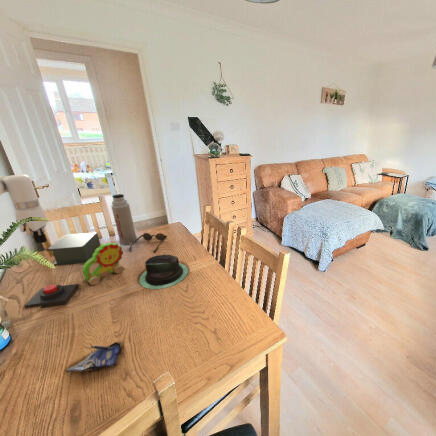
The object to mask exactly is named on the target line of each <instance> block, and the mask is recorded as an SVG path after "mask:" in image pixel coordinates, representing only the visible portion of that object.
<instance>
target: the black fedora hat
mask: <svg viewBox="0 0 436 436" xmlns="http://www.w3.org/2000/svg"><path fill="white" fill-rule="evenodd" d="M144 266H145V271H144V272H143V273H141V275H140V277H139V281H138V282H139V284H140V285H141V286H142V287H143V288H146V289H148V290H149V289H150V290H160V289H166V288H170V287H173V286H175V285H177V284H178V283H180V282H182V281H183V280H184V279H185V278H186V277H187V276H188V273H189V269H188V267H187V266H186V265H185V264H183V263H181V262H179V257H177V256H176V255H172V254H168V253H167V254H165V253H163V254H156V255H153V256H151V257H149V258H148V259H147V260H145V261H144Z"/></svg>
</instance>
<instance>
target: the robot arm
mask: <svg viewBox="0 0 436 436" xmlns="http://www.w3.org/2000/svg"><path fill="white" fill-rule="evenodd" d="M6 193H8V195H9V197H10V200H11V202H12V205H13V208H14V209H15V210H14V212H15V213H14V214H15V218H16V223H18V221H20V220H22V219H26V218H29V217H41V218H46V219H47V216H46V214H45V212H44V209H43V207H42V206H41V203H40V201H39V197H38V195H37V192H36V190H35V187H34V184H33V181H32V179H31V177H30V176H28V175H27V174H12V175H0V196H2V194H6ZM47 224H48V220H47V221H29V222H26V223H24V224H22V225H20V226H18V228H19V230H20V232H21V233H26V236H32V237H33V238H34V241H35V243H36V244H45V242H46V241H47V240H48V238H47V239H46V237H47V235H46V236H45V234H46V233H45V228H46V226H47Z"/></svg>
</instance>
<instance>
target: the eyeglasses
mask: <svg viewBox="0 0 436 436" xmlns="http://www.w3.org/2000/svg"><path fill="white" fill-rule="evenodd" d="M153 237H155V238H156V240H158V241H160V242H159V243H158V244H157V246H156V248H155V250H153V253H156V252H157V251H158V248H159V246H160V245H161V244H162V243H163V242H164V241H165V240H166V239H167V237H168V235H165V234H164V233H162V232H158V233H157V234H150V233H148V232H144V233H143V234H141V235H140V236H139V237H137V238H136V239H137V240H135V241H134V242H133V243H132V244H130V246H129V253H132V252H131V249H132V246H133V245H134V244H135V243H136V242H137V241H138V240H140V239H141V238H143V239H144V240H147V241H151V240H152V239H153Z"/></svg>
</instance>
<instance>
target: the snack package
mask: <svg viewBox="0 0 436 436" xmlns="http://www.w3.org/2000/svg"><path fill="white" fill-rule="evenodd" d="M90 349H95V351H92V352H91V353H90V354H89V355H87V356H86V358H85V359H83V360H82V361H80V362H78V363H77V364H75V365H73V366H71V367H69V368H67V370H66V373H72V372H75V373H80V372H82V373H83V372H88V371H95V370H98V369H101V368H106V367H113V368H115V366H116V364H117V361H118V357H119V353H120V351H121V349H122V348H121V343H119V342H114V343H111V344H110V345H109V346H104V345H93V344H90Z"/></svg>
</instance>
